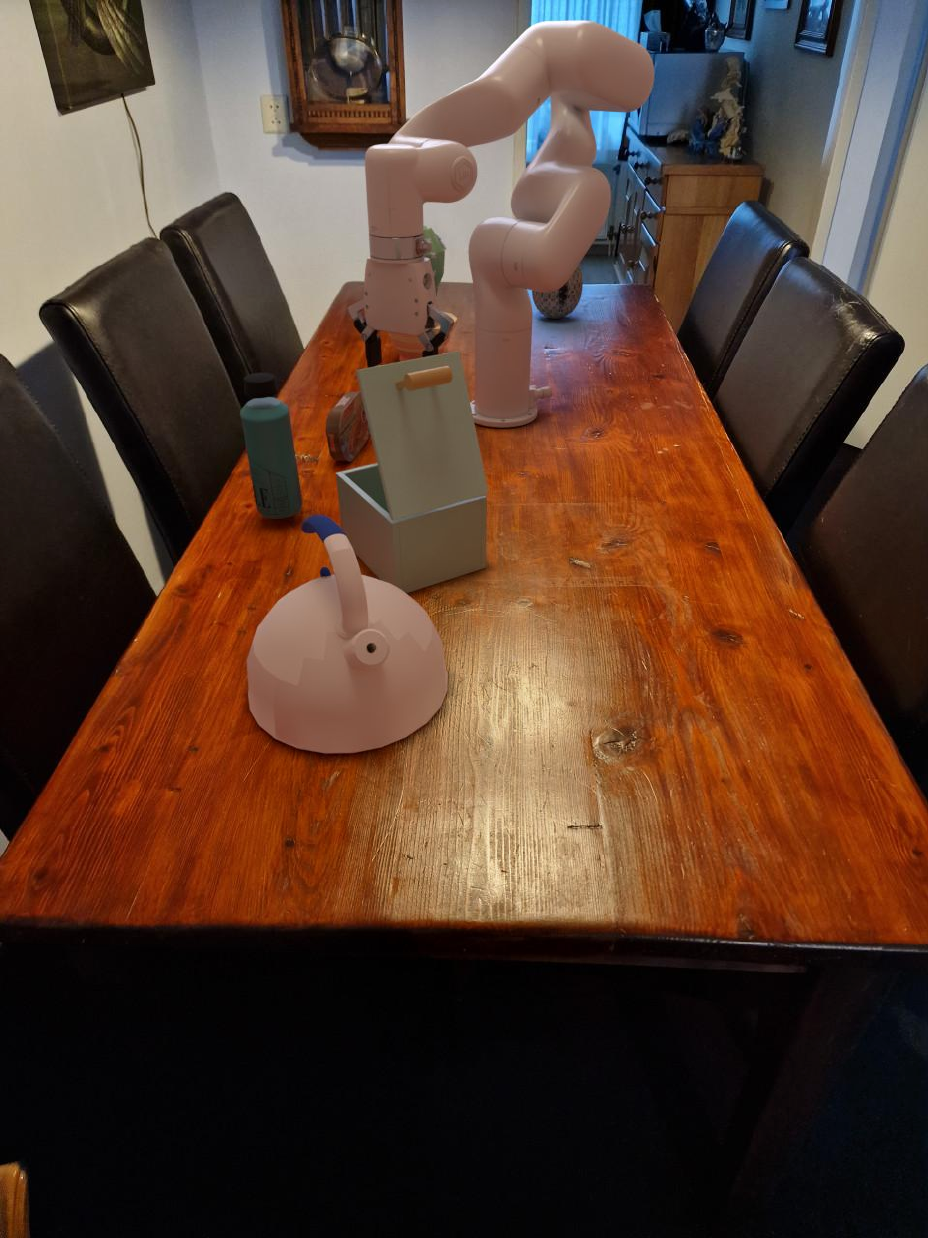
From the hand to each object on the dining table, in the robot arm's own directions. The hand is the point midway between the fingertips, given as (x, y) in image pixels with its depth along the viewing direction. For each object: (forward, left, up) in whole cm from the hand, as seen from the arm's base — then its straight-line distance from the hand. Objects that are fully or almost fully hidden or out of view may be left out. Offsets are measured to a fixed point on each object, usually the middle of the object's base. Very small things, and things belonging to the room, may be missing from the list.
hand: (402, 370), depth 122 cm
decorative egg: (-67, -51, -14) cm, 85 cm away
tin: (+7, -6, -14) cm, 17 cm away
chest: (+14, +28, -14) cm, 34 cm away
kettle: (+32, +48, -14) cm, 59 cm away
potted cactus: (-25, -41, -14) cm, 50 cm away
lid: (+14, +32, +4) cm, 35 cm away
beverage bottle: (+25, +10, -14) cm, 30 cm away
